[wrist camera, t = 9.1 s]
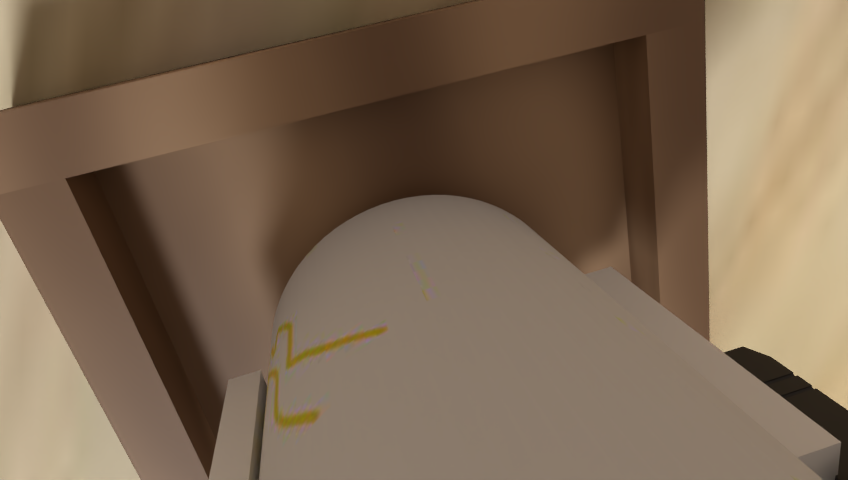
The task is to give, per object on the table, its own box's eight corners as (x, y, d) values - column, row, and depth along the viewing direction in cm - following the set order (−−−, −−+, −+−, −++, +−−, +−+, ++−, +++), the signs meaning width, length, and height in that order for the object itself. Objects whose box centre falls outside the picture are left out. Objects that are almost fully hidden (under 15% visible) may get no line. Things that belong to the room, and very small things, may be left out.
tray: (239, 573, 19) (231, 646, 17) (10, 107, 13) (-51, 124, 11) (666, 430, 21) (711, 478, 19) (641, -39, 15) (704, -51, 13)
